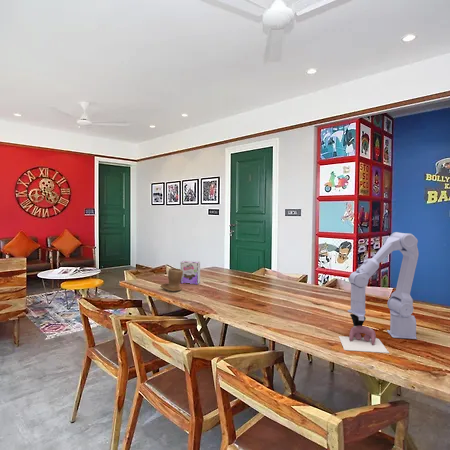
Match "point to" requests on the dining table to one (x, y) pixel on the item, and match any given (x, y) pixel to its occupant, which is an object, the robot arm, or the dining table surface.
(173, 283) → the brown hat
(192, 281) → the candy box
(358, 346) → the mat
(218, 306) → the dining table surface
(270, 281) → the dining table surface
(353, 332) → the video game controller
